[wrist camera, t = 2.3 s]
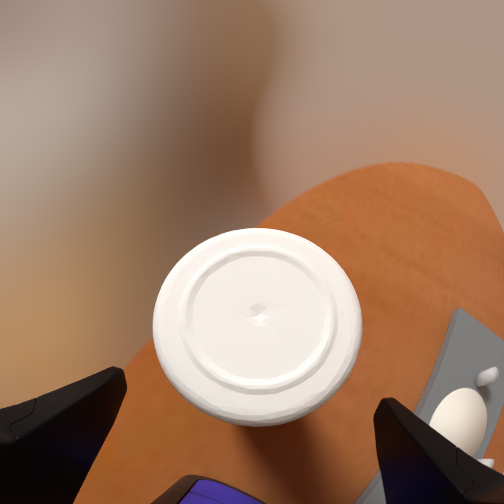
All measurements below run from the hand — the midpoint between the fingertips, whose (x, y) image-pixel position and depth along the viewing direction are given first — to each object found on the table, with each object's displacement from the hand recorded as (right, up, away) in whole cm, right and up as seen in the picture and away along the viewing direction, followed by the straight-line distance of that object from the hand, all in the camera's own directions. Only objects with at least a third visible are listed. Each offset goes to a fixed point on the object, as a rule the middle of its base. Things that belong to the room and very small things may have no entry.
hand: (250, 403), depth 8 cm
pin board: (+15, -9, +5) cm, 18 cm away
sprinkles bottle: (0, -3, +9) cm, 10 cm away
